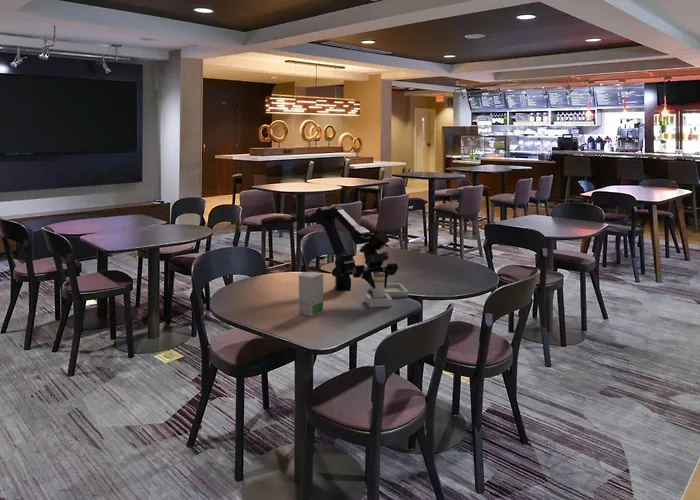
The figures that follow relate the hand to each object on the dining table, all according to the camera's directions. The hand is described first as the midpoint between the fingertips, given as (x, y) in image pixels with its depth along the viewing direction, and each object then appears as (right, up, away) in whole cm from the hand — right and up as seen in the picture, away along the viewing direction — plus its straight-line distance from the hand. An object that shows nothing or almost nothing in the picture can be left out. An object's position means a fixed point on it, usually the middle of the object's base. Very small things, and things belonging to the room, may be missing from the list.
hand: (380, 287), depth 237 cm
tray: (+5, -4, +19) cm, 19 cm away
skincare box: (-28, -9, -11) cm, 31 cm away
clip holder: (-1, -7, +3) cm, 7 cm away
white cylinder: (-1, -7, +3) cm, 7 cm away
